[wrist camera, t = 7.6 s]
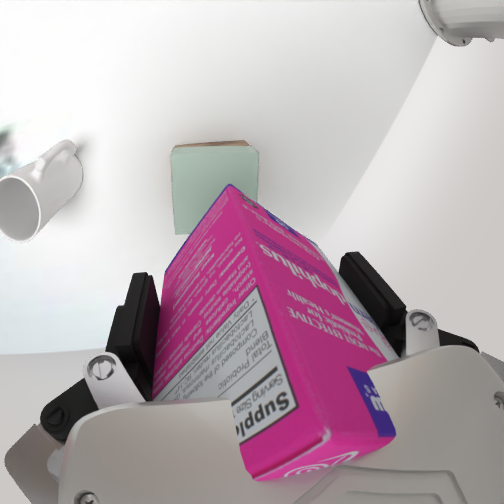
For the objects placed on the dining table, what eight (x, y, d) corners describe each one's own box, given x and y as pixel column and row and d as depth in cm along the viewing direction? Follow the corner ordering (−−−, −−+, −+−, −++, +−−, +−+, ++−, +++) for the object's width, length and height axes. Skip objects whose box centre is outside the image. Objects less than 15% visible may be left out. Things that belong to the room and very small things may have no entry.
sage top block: (251, 146, 29) (259, 152, 25) (248, 215, 33) (254, 231, 29) (174, 147, 27) (170, 154, 24) (177, 218, 31) (175, 234, 28)
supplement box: (319, 240, 15) (452, 436, 5) (249, 315, 17) (302, 513, 7) (230, 174, 12) (336, 452, 3) (161, 271, 14) (145, 516, 4)
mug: (68, 209, 32) (26, 255, 21) (34, 179, 29) (-17, 216, 18) (110, 148, 29) (68, 175, 19) (72, 116, 26) (19, 130, 16)
